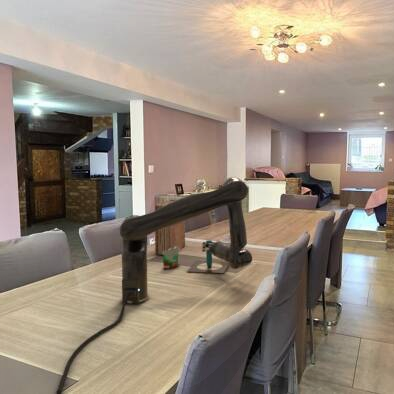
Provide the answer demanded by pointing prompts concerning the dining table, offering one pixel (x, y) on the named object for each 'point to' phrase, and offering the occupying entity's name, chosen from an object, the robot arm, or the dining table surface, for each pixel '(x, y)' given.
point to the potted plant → (170, 257)
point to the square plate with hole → (202, 268)
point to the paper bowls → (226, 240)
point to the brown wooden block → (169, 234)
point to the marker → (209, 256)
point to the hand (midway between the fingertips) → (206, 243)
